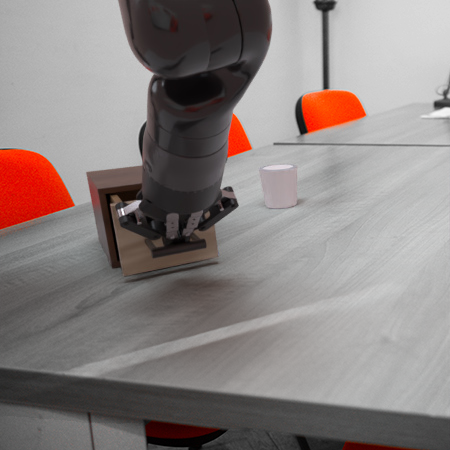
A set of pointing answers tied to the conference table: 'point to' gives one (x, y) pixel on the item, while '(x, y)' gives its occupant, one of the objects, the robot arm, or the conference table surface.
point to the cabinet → (98, 187)
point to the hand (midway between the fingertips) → (174, 245)
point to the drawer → (156, 243)
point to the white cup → (279, 185)
